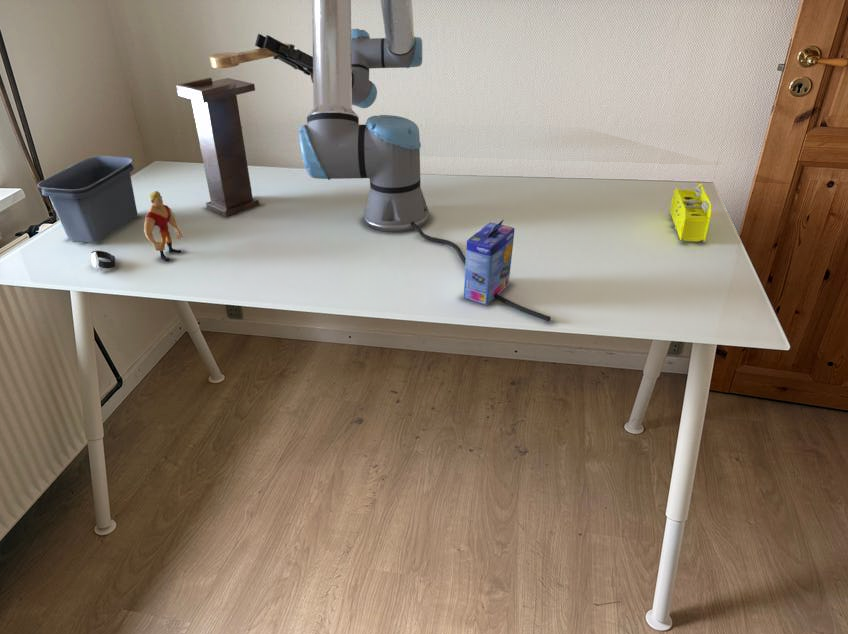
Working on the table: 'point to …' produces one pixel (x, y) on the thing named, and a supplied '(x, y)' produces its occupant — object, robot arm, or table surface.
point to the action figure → (160, 224)
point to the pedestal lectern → (221, 142)
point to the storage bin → (93, 197)
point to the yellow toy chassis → (691, 213)
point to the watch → (102, 264)
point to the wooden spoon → (239, 57)
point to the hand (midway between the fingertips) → (261, 40)
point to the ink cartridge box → (488, 262)
